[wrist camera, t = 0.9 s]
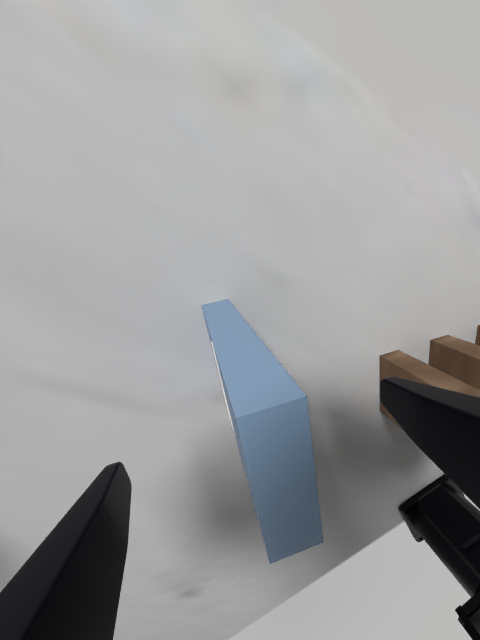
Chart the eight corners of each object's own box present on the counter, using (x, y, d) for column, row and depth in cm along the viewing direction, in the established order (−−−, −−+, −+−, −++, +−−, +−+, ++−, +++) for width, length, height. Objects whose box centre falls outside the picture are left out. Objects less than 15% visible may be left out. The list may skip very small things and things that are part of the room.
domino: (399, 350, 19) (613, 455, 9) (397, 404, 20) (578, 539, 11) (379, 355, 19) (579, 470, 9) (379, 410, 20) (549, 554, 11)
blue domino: (229, 299, 15) (308, 395, 5) (243, 371, 16) (325, 541, 7) (200, 305, 14) (233, 418, 5) (218, 378, 16) (268, 564, 7)
